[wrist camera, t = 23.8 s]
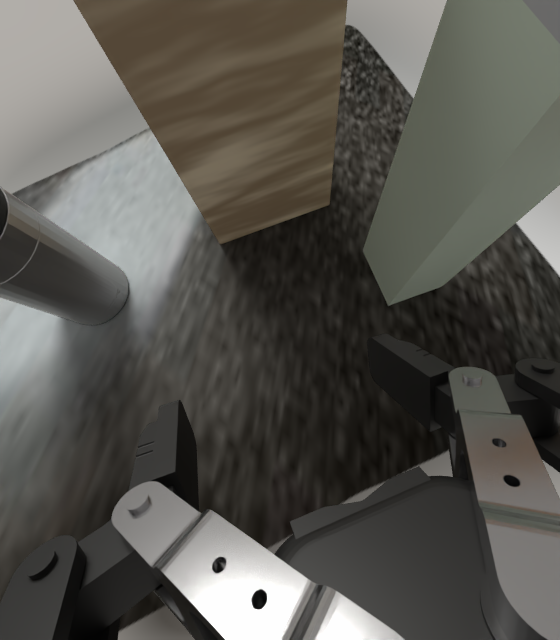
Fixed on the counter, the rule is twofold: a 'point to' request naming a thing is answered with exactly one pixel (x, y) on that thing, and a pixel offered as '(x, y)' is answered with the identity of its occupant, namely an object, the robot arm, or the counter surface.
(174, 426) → the robot arm
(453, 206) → the grooved green pillar
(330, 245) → the counter surface
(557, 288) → the counter surface
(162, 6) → the stand
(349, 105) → the counter surface
